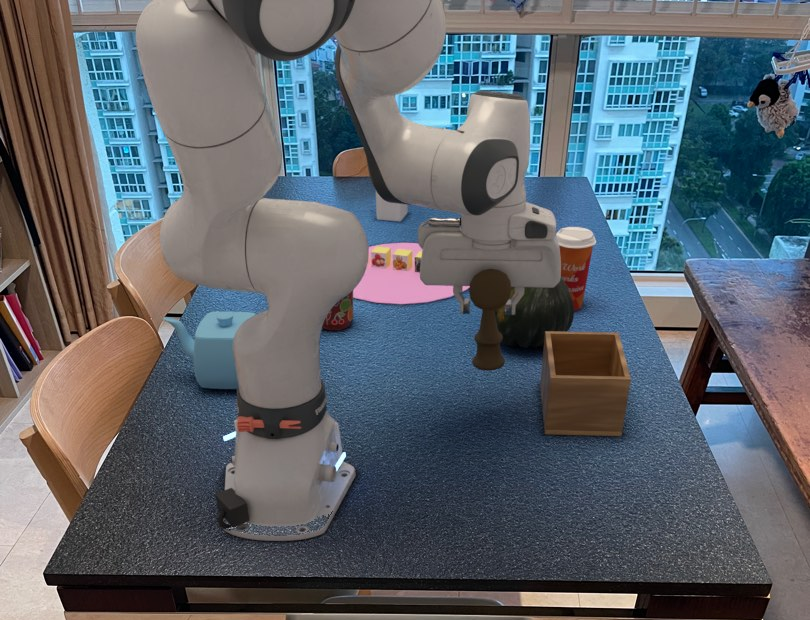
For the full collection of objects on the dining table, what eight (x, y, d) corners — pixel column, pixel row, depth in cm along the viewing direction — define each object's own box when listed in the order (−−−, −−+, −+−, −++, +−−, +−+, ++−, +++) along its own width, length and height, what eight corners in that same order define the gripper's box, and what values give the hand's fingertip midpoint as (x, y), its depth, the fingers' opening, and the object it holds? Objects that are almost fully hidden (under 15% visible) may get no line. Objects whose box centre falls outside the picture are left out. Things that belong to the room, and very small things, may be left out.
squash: (469, 297, 161) (498, 255, 146) (542, 286, 165) (577, 246, 151) (490, 369, 159) (521, 335, 145) (563, 357, 163) (600, 322, 149)
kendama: (470, 380, 132) (468, 247, 120) (467, 353, 140) (466, 225, 128) (510, 379, 131) (512, 245, 120) (505, 352, 139) (507, 223, 127)
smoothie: (351, 335, 161) (345, 227, 148) (307, 332, 163) (297, 224, 150) (362, 316, 167) (357, 210, 155) (319, 313, 169) (311, 207, 156)
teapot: (184, 358, 155) (172, 297, 148) (284, 361, 154) (277, 299, 147) (164, 394, 146) (150, 330, 138) (271, 397, 144) (263, 332, 137)
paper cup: (541, 309, 169) (547, 236, 160) (555, 294, 174) (562, 223, 165) (580, 316, 166) (589, 243, 157) (593, 301, 171) (602, 229, 162)
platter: (359, 237, 199) (358, 222, 197) (496, 252, 191) (497, 236, 189) (301, 293, 176) (300, 277, 174) (455, 313, 168) (455, 296, 166)
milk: (384, 211, 212) (381, 112, 198) (408, 213, 211) (406, 114, 197) (376, 220, 208) (372, 119, 194) (400, 222, 206) (398, 121, 192)
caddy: (621, 436, 134) (631, 379, 128) (544, 434, 134) (550, 377, 128) (610, 386, 145) (618, 332, 139) (540, 385, 146) (545, 331, 140)
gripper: (416, 225, 120) (416, 320, 128) (567, 227, 119) (557, 323, 127) (419, 210, 125) (418, 302, 133) (563, 212, 124) (554, 305, 132)
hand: (487, 313), depth 130 cm, fingers closed on kendama, 5 cm apart
